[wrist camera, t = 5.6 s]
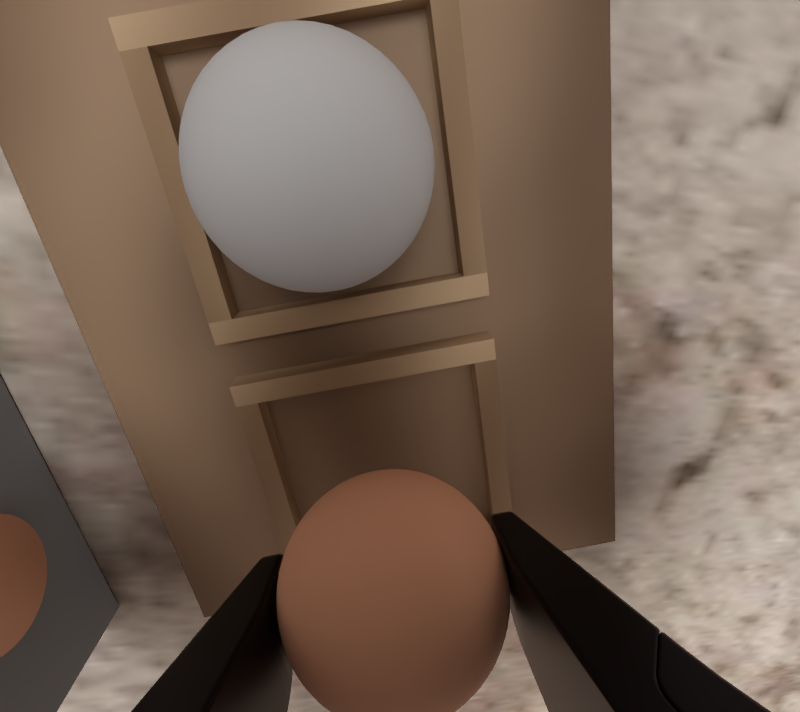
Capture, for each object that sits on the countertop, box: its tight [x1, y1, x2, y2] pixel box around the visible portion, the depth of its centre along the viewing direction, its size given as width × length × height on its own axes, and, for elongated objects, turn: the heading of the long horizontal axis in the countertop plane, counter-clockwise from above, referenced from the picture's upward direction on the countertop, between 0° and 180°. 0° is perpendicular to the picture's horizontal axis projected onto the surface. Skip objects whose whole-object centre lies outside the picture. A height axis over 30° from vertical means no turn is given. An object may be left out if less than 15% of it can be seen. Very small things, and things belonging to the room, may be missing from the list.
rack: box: [0, 0, 615, 617], centre depth 10 cm, size 12×22×2 cm, turn 10°
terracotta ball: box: [276, 469, 510, 712], centre depth 8 cm, size 4×4×4 cm
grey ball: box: [179, 20, 435, 293], centre depth 8 cm, size 4×4×4 cm
